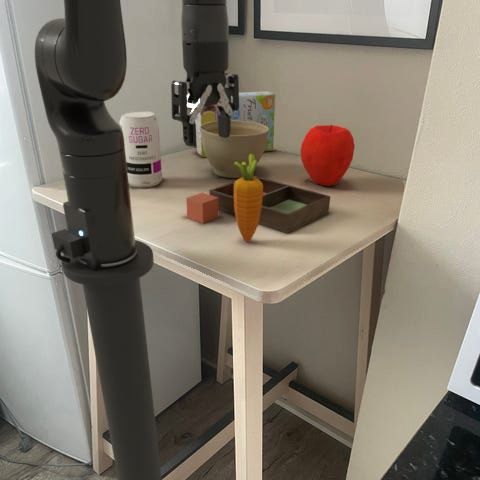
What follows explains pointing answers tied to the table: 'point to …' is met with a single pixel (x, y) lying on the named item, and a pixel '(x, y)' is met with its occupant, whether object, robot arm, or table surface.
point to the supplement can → (142, 148)
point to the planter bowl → (233, 146)
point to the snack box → (243, 115)
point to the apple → (327, 153)
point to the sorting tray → (279, 204)
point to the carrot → (247, 199)
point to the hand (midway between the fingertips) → (207, 141)
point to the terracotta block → (202, 207)
